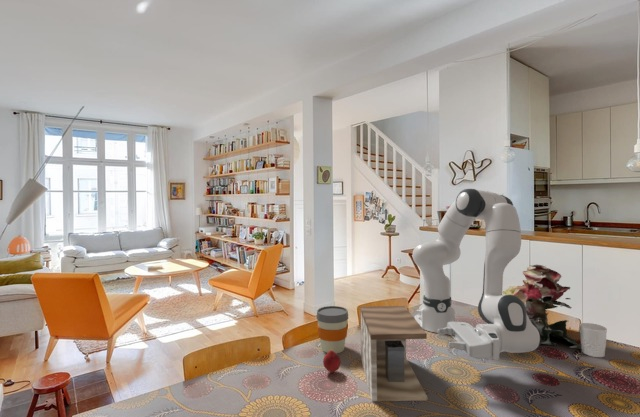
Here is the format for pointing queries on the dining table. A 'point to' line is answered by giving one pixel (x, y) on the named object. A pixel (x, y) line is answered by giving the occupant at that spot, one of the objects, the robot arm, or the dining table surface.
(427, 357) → the dining table surface
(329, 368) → the red rounded piece
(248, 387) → the dining table surface
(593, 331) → the white cup
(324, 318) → the reusable coffee cup
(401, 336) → the wooden cubby shelf
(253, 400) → the dining table surface
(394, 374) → the tea tin
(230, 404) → the dining table surface
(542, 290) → the rose bouquet
